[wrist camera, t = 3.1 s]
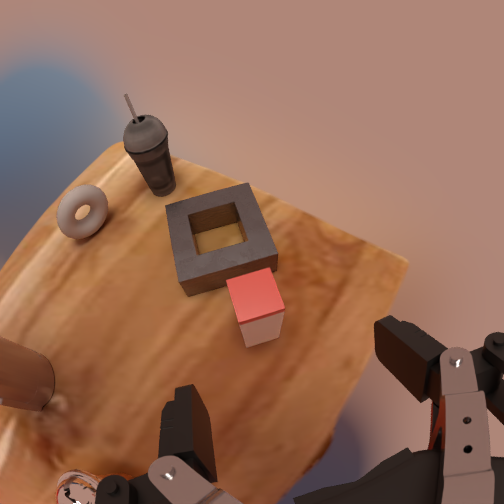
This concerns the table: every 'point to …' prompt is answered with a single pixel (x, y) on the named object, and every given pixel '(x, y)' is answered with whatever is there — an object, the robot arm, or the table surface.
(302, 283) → the table surface
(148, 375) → the table surface
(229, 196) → the square socket housing
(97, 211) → the donut
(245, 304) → the plug peg
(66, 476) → the cup with straw
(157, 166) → the beverage cup
